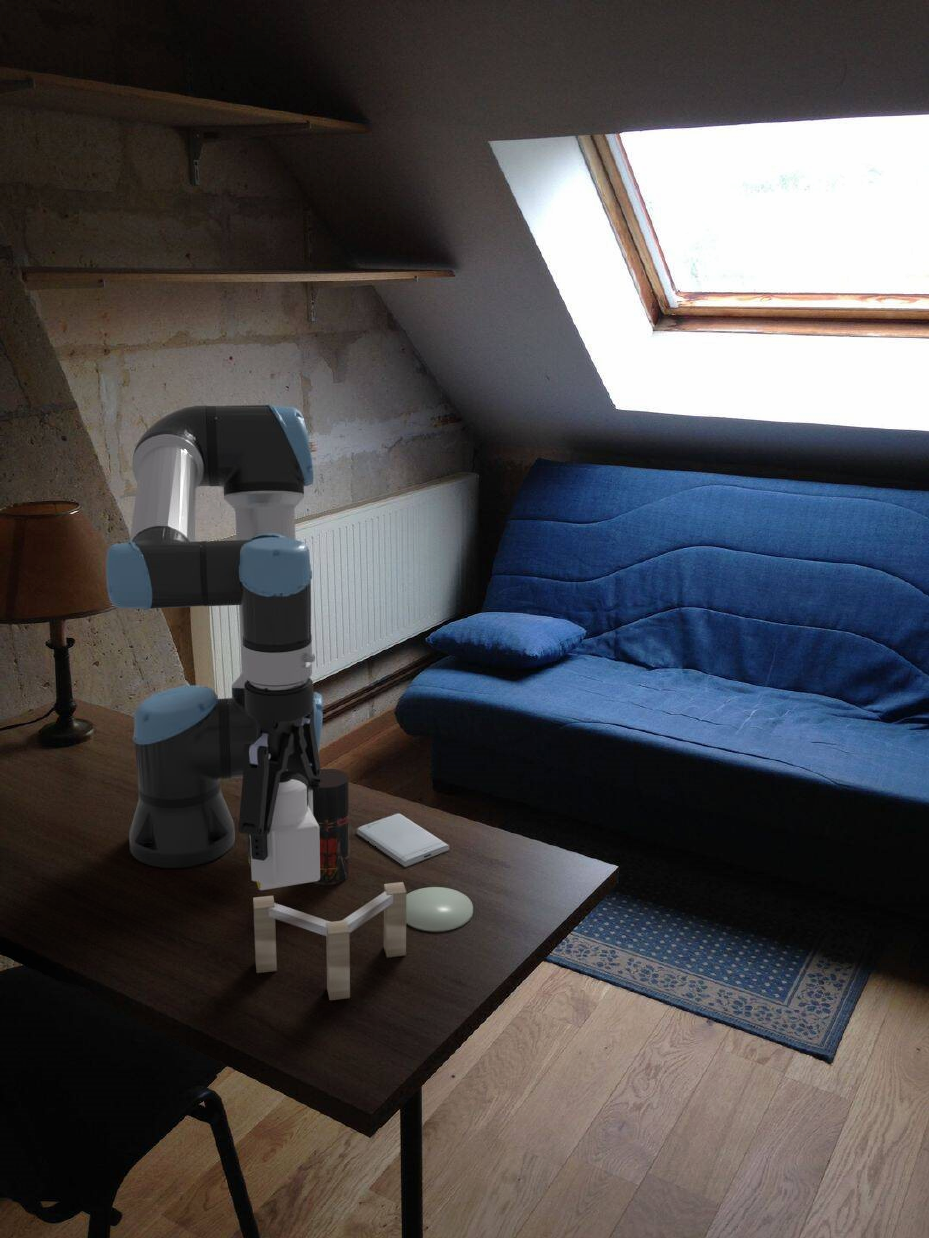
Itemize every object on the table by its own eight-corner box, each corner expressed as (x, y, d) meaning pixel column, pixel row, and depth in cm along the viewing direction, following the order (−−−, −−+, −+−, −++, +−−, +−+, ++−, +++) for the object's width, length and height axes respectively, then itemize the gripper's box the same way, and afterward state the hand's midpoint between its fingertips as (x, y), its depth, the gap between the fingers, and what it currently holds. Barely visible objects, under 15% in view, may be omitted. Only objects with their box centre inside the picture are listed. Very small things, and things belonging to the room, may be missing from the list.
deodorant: (300, 870, 156) (297, 774, 152) (337, 859, 159) (336, 765, 155) (318, 889, 152) (317, 791, 147) (356, 877, 155) (356, 781, 150)
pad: (392, 894, 151) (392, 891, 151) (463, 886, 153) (463, 883, 153) (405, 935, 142) (406, 932, 141) (480, 926, 144) (481, 923, 144)
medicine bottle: (248, 861, 131) (244, 769, 127) (307, 852, 133) (305, 761, 129) (259, 891, 124) (255, 795, 121) (320, 881, 127) (319, 786, 123)
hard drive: (356, 827, 167) (405, 860, 158) (400, 812, 172) (449, 843, 163) (356, 837, 167) (405, 870, 158) (400, 821, 172) (449, 853, 163)
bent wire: (255, 961, 136) (253, 897, 133) (402, 944, 140) (402, 881, 137) (260, 1009, 127) (257, 941, 124) (416, 989, 131) (417, 923, 128)
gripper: (265, 718, 110) (271, 914, 117) (347, 652, 131) (349, 821, 137) (198, 709, 112) (208, 902, 119) (289, 645, 133) (293, 812, 139)
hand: (283, 858), depth 128 cm, fingers closed on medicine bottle, 10 cm apart
